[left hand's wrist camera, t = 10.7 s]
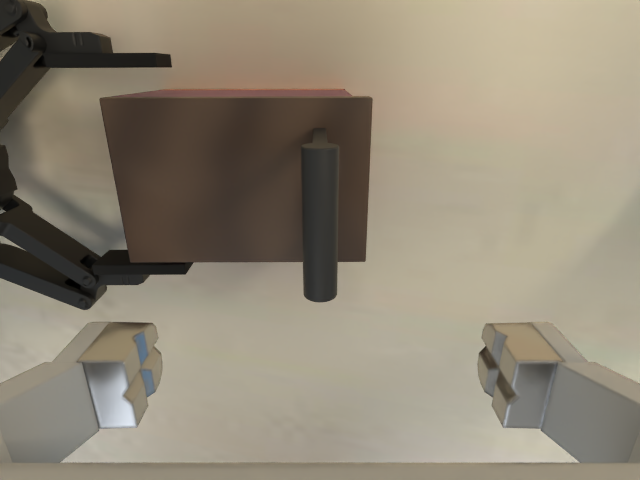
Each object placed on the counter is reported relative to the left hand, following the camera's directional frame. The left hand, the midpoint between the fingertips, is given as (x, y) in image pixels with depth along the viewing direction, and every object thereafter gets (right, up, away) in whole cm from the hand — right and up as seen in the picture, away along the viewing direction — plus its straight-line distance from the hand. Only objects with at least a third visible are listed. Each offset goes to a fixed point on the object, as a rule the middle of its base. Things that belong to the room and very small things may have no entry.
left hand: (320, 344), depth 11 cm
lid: (-5, +6, +16) cm, 17 cm away
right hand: (-10, +7, +18) cm, 22 cm away
